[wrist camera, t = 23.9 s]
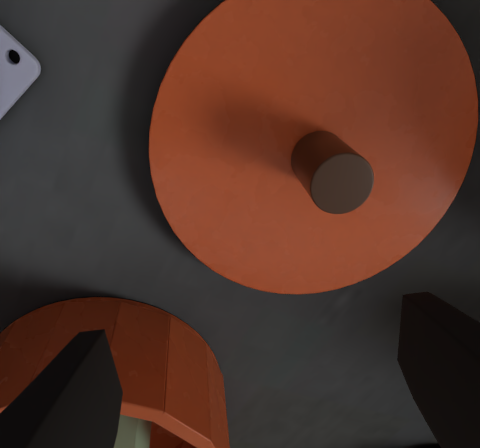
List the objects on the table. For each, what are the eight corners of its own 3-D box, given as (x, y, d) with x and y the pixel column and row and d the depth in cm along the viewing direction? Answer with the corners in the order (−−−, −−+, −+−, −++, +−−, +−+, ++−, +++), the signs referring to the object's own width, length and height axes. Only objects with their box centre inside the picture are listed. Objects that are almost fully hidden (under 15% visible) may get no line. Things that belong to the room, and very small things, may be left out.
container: (53, 428, 25) (22, 520, 20) (53, 357, 22) (19, 442, 18) (148, 432, 26) (140, 519, 21) (158, 364, 23) (151, 446, 19)
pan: (148, 507, 29) (138, 625, 24) (-121, 376, 22) (-229, 501, 16) (294, 404, 26) (323, 511, 21) (40, 212, 19) (-22, 296, 13)
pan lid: (288, 327, 24) (308, 388, 20) (79, 145, 18) (49, 181, 14) (514, 154, 20) (592, 187, 16) (347, -132, 15) (405, -187, 11)
